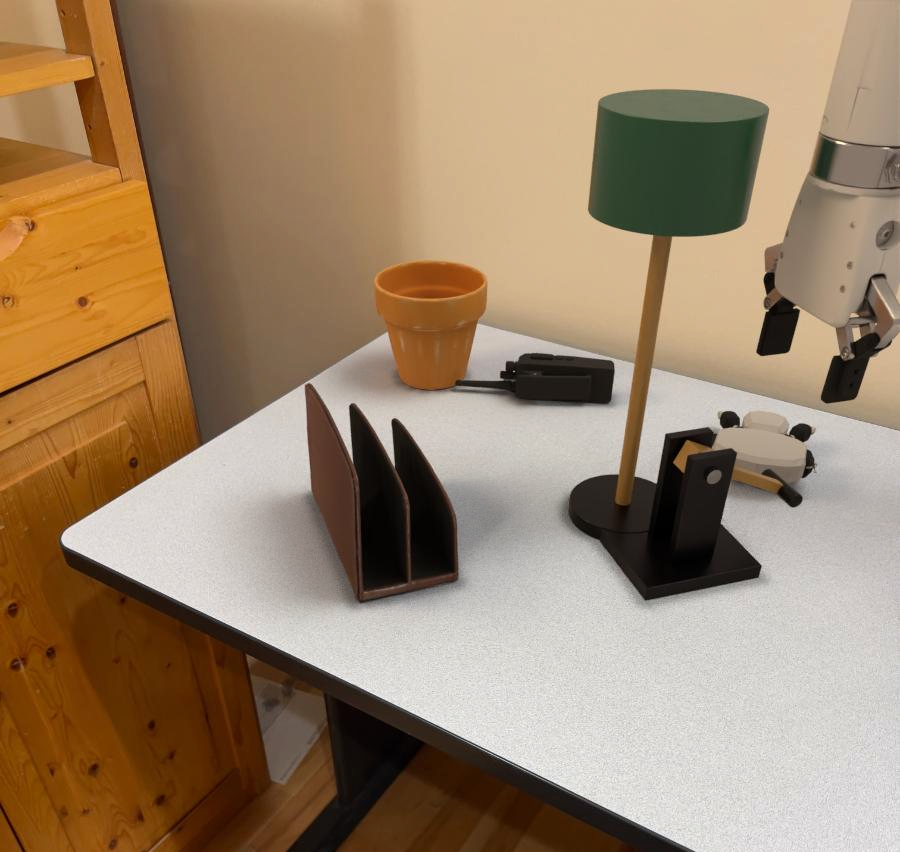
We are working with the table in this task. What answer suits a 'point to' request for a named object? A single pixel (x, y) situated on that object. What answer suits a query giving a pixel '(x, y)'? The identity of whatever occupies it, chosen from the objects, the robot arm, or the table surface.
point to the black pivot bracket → (685, 526)
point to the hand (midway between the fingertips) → (803, 375)
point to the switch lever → (747, 475)
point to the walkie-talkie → (554, 378)
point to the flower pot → (431, 318)
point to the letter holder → (380, 505)
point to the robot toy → (766, 444)
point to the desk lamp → (662, 235)
